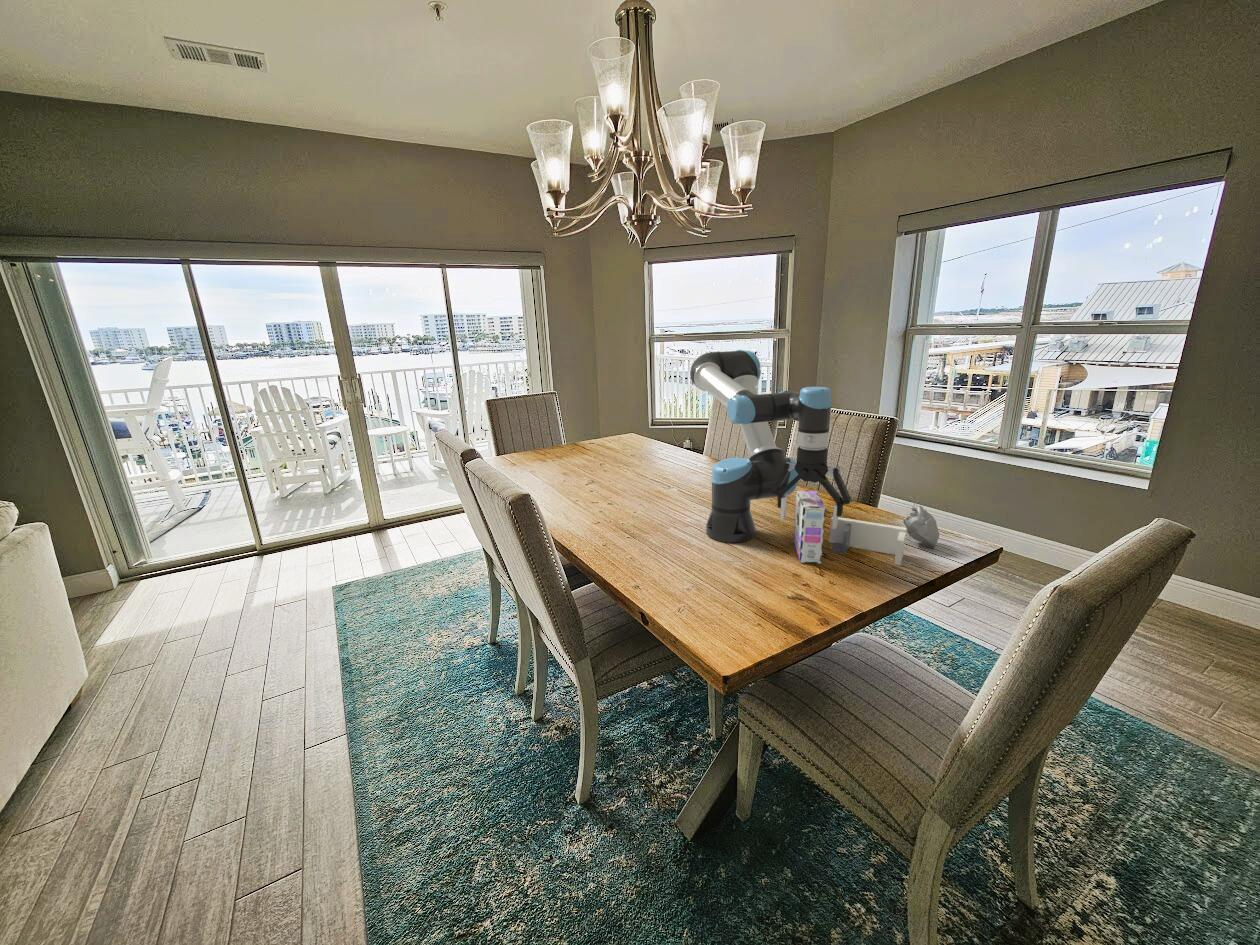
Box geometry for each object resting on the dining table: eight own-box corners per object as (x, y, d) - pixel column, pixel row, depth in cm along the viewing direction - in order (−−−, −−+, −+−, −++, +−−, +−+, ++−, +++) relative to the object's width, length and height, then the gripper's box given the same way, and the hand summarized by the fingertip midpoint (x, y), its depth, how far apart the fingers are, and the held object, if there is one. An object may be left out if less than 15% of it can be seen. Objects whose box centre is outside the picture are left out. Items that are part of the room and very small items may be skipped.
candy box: (822, 564, 128) (826, 507, 124) (799, 563, 129) (802, 506, 125) (813, 542, 141) (817, 490, 136) (792, 542, 142) (795, 489, 138)
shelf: (824, 550, 136) (826, 525, 134) (830, 540, 142) (832, 516, 140) (900, 565, 126) (904, 538, 124) (903, 554, 132) (906, 527, 130)
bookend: (830, 551, 135) (831, 528, 133) (834, 543, 140) (836, 521, 138) (845, 554, 133) (847, 531, 131) (849, 546, 138) (851, 523, 136)
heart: (915, 554, 131) (928, 513, 127) (891, 539, 139) (903, 501, 136) (946, 556, 132) (960, 515, 129) (921, 541, 141) (933, 503, 138)
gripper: (761, 446, 129) (759, 519, 135) (862, 454, 116) (855, 535, 121) (769, 440, 135) (767, 511, 141) (867, 448, 121) (860, 525, 127)
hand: (808, 522), depth 131 cm, fingers open, 13 cm apart
